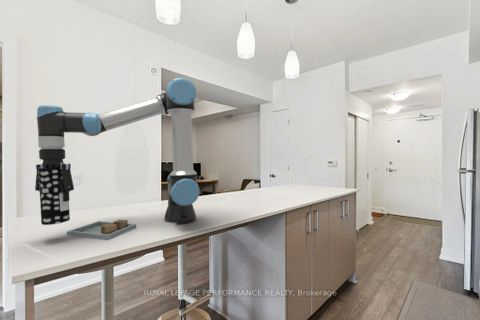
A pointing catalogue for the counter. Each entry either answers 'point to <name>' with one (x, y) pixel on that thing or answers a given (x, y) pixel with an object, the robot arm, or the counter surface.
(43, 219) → the white-spotted black cylinder
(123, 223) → the walnut block
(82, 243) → the counter surface
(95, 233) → the tray
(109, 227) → the walnut block
